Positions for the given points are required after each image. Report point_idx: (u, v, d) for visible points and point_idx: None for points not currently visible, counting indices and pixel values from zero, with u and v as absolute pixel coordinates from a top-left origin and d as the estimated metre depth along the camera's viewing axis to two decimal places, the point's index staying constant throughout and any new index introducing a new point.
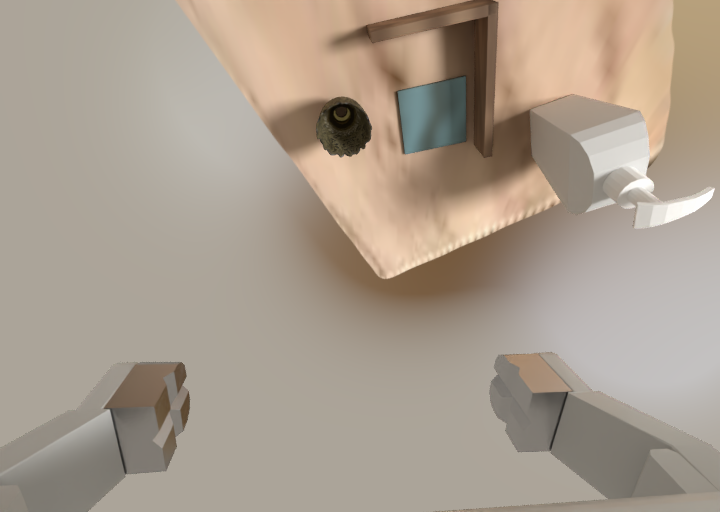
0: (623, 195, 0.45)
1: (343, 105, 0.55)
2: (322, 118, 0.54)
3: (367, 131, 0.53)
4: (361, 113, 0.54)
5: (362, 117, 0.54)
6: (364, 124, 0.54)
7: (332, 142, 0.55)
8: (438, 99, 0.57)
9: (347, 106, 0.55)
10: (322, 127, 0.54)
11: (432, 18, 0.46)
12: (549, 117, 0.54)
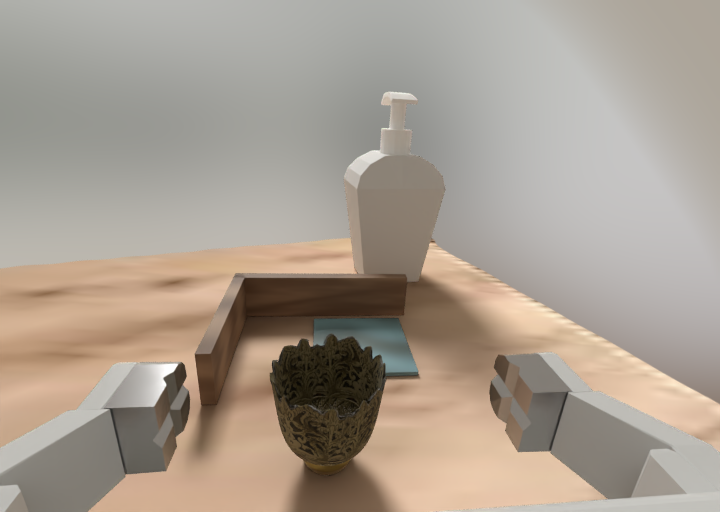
0: (397, 129, 0.50)
1: None
2: None
3: (344, 355, 0.28)
4: (324, 394, 0.29)
5: (331, 392, 0.29)
6: (340, 380, 0.29)
7: None
8: None
9: None
10: None
11: (219, 307, 0.37)
12: (360, 244, 0.52)
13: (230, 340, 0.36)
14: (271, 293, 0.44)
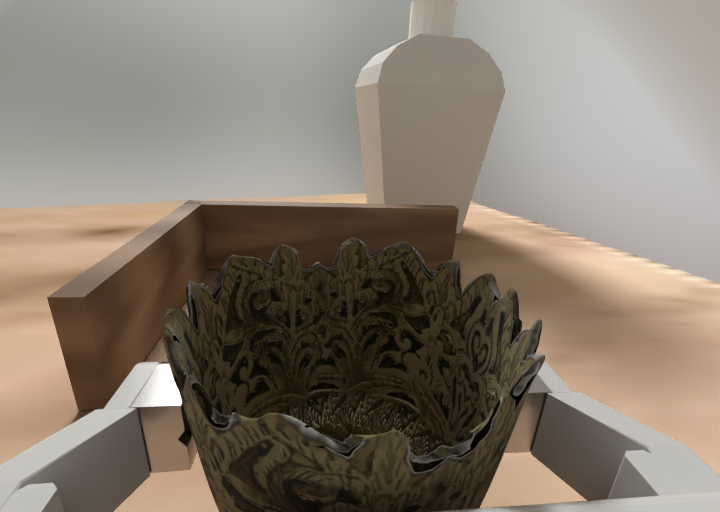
0: None
1: None
2: None
3: (384, 290, 0.12)
4: (336, 385, 0.12)
5: (353, 381, 0.12)
6: (374, 352, 0.12)
7: None
8: None
9: None
10: None
11: (143, 233, 0.20)
12: (380, 175, 0.36)
13: (162, 292, 0.20)
14: (246, 231, 0.28)
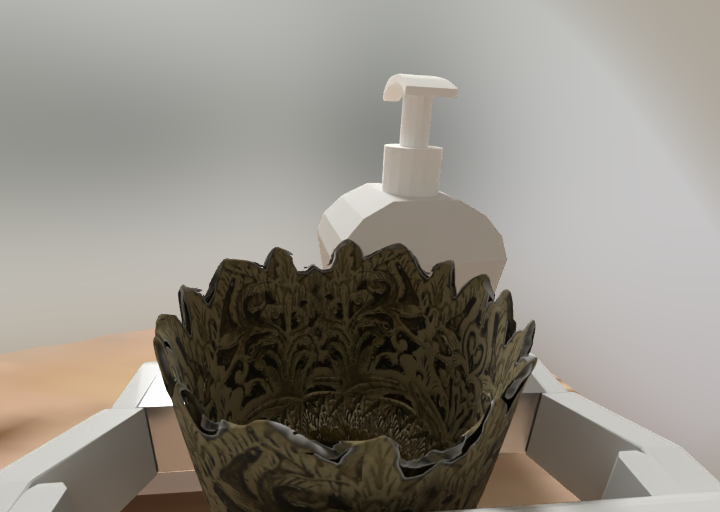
0: (416, 148, 0.25)
1: None
2: None
3: (380, 291, 0.12)
4: (333, 387, 0.12)
5: (350, 383, 0.12)
6: (371, 354, 0.12)
7: None
8: None
9: None
10: None
11: None
12: None
13: None
14: None
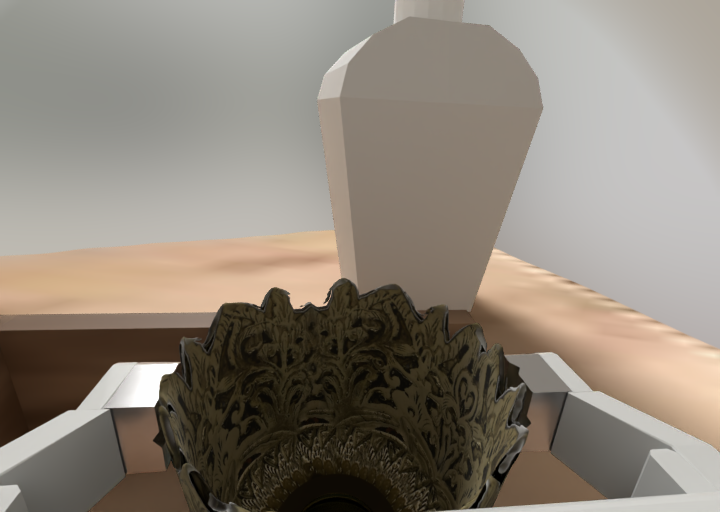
0: None
1: None
2: None
3: (375, 329, 0.12)
4: (326, 420, 0.13)
5: (343, 415, 0.13)
6: (364, 388, 0.12)
7: None
8: None
9: (296, 501, 0.11)
10: None
11: None
12: (350, 236, 0.24)
13: None
14: (89, 372, 0.15)
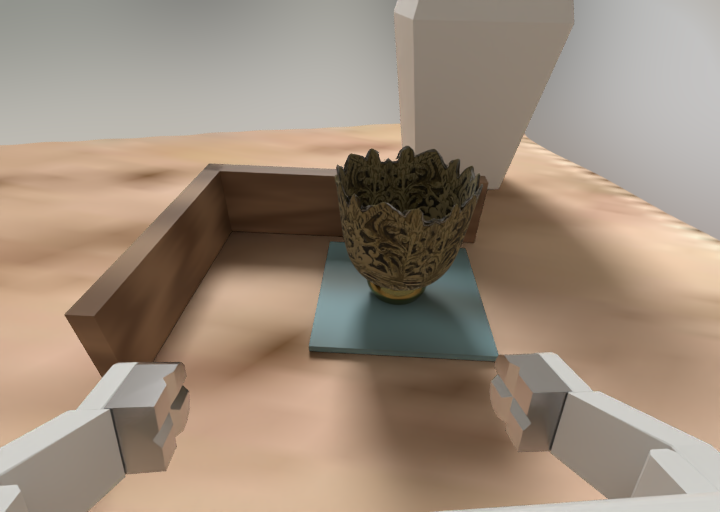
0: None
1: None
2: None
3: (422, 174, 0.23)
4: None
5: None
6: (414, 207, 0.24)
7: None
8: (360, 278, 0.25)
9: None
10: None
11: (158, 219, 0.21)
12: (413, 126, 0.33)
13: (179, 275, 0.22)
14: (264, 198, 0.28)
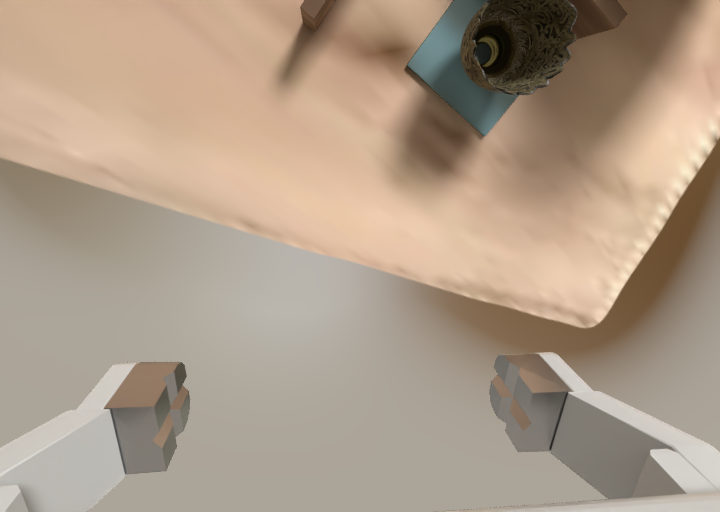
0: None
1: (482, 33, 0.32)
2: None
3: (557, 13, 0.28)
4: (519, 14, 0.30)
5: (525, 18, 0.30)
6: (538, 20, 0.29)
7: (509, 88, 0.31)
8: None
9: (489, 29, 0.32)
10: None
11: None
12: None
13: None
14: None
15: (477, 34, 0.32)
